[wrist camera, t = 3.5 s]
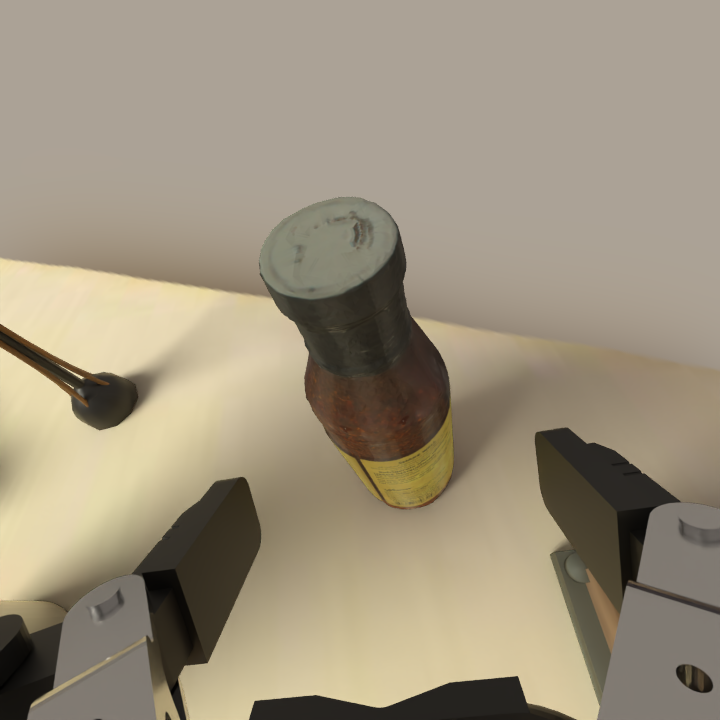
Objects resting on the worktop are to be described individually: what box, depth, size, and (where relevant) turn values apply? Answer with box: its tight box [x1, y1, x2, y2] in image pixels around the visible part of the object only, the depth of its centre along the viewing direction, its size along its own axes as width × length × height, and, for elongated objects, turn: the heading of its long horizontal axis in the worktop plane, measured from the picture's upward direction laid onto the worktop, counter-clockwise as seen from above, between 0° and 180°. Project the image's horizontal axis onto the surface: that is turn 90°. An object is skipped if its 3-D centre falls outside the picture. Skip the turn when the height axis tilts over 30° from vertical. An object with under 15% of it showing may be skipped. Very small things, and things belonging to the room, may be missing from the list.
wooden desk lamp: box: [0, 324, 138, 430], centre depth 26 cm, size 6×5×20 cm
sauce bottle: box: [259, 197, 454, 509], centre depth 19 cm, size 6×6×20 cm
